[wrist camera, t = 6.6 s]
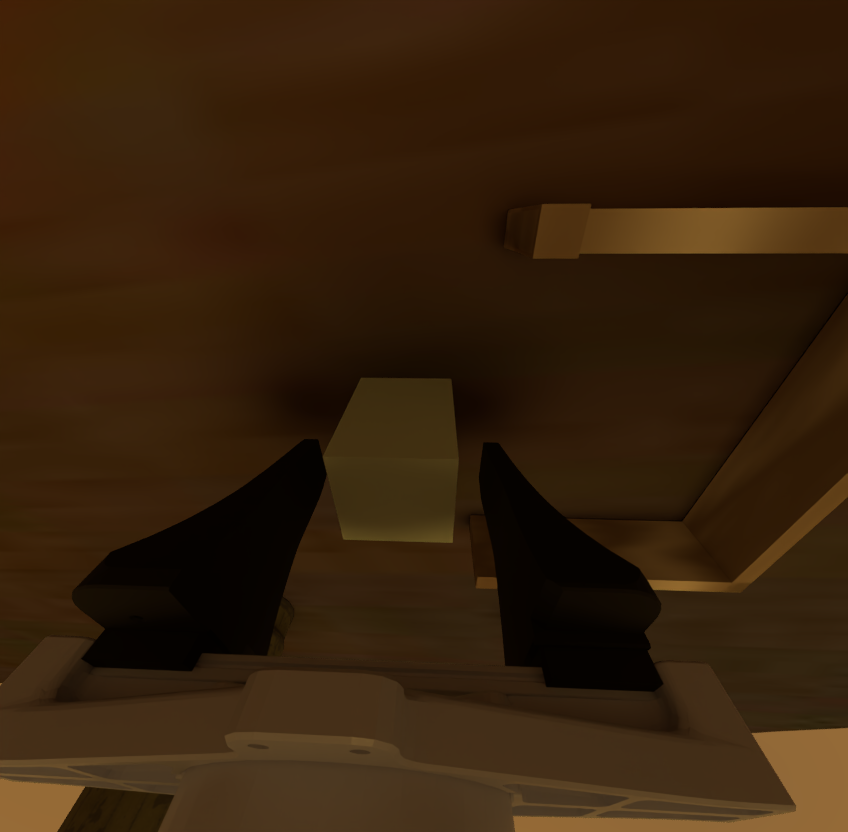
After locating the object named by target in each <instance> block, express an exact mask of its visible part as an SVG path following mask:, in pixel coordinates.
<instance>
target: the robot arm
mask: <svg viewBox="0 0 848 832" xmlns="http://www.w3.org/2000/svg"><path fill="white" fill-rule="evenodd" d="M326 475H327V473H326V469H325V465H324V461H323V457H322V453H321V449H320V445H319V441H318V439H304V440H303V441H301V442H300V443H299V444H298V445H296V446H295V447H294V448H293V449H291V450H290V451H289V452H288V453H286V454H285V455H284V456H283V457H281V458H280V459H279V460H278V461H276V462H275V463H274V464H273V465H271V466H270V467H269V468H268V469H266V470H265V471H264V472H262V473H261V474H259V475H258V476H257V477H255V478H254V479H253V480H251V481H250V482H249V483H247V484H246V485H244V486H243V487H241V488H240V489H238V490H237V491H235V492H234V493H232V494H231V495H229V496H227V497H226V498H224V499H222V500H221V501H219V502H217V503H216V504H214V505H212V506H210V507H208V508H207V509H205V510H203V511H201V512H199V513H197V514H196V515H194V516H192V517H190V518H188V519H186V520H184V521H182V522H180V523H178V524H176V525H174V526H172V527H169V528H167V529H165V530H163V531H161V532H158V533H156V534H154V535H152V536H149V537H147V538H144V539H142V540H140V541H137V542H135V543H132V544H130V545H127V546H125V547H122V548H120V549H117V550H115V551H112V552H111V553H109V555H108V556H107V557H106V558H105V559H104V560H103V561H102V562H101V563H100V564H99V565H98V566H97V567H96V568H95V569H94V570H93V571H92V572H91V573H90V574H89V575H88V576H87V577H86V578H85V579H84V580H83V581H82V582H81V583H80V584H79V585H78V586H77V587H76V588H75V589H74V590H73V592H72V600H73V602H74V604H75V605H76V606H77V607H78V608H79V609H80V610H81V611H83V612H84V613H85V614H87V615H88V616H89V617H91V618H92V619H93V620H95V621H96V622H97V623H99V624H100V625H101V626H102V627H104V628H105V630H104V631H103V632H102V634H101V635H100V636H99V637H98V639H97V640H95V639H92V638H89V637H83V636H60V635H50V636H48V637H46V638H45V639H44V640H43V641H42V642H41V643H40V644H39V645H38V646H37V647H36V648H35V649H34V651H33V652H32V653H31V654H30V655H29V656H28V657H27V658H26V659H25V660H24V661H23V662H22V663H21V664H20V665H19V667H18V668H17V669H16V670H15V671H14V672H13V673H12V674H11V675H10V676H9V677H8V678H7V679H6V680H5V681H4V682H3V684H2V685H1V686H0V778H1V779H5V780H9V781H16V782H33V783H47V784H60V785H74V786H85V787H96V788H107V789H118V790H128V791H139V792H149V793H160V794H170V795H174V798H173V800H172V802H171V804H170V806H169V809H168V811H167V813H166V815H165V817H164V819H163V822H162V824H161V826H160V828H159V830H158V832H515V830H514V821H513V816H531V817H584V818H633V819H667V820H692V821H713V822H735V821H741V820H747V819H753V818H759V817H765V816H771V815H777V814H783V813H789V812H794V811H796V805H795V803H794V802H793V800H792V799H791V797H790V795H789V794H788V792H787V790H786V789H785V787H784V786H783V784H782V782H781V781H780V779H779V777H778V776H777V774H776V773H775V771H774V769H773V768H772V766H771V764H770V763H769V761H768V760H767V758H766V757H765V755H764V753H763V751H762V750H761V748H760V747H759V745H758V743H757V742H756V740H755V739H754V737H753V735H752V734H751V732H750V730H749V729H748V727H747V725H746V724H745V722H744V721H743V719H742V717H741V716H740V714H739V712H738V711H737V709H736V708H735V706H734V704H733V703H732V701H731V699H730V698H729V696H728V695H727V693H726V691H725V690H724V688H723V686H722V685H721V683H720V682H719V680H718V678H717V677H716V675H715V673H714V672H713V670H712V669H711V667H710V665H709V664H707V663H705V662H698V661H674V660H666V661H659V662H655V663H653V661H652V659H651V657H650V655H649V653H648V651H647V650H649V649H650V648H651V647H650V643H649V641H648V639H647V637H646V635H645V633H644V632H645V630H646V629H647V628H648V627H649V626H650V625H651V624H652V623H653V622H654V620H655V619H656V618H657V617H658V615H659V613H660V611H661V603H660V601H659V599H658V597H657V596H656V594H655V592H654V590H653V589H652V587H651V585H650V584H649V582H648V580H647V579H646V577H645V576H644V575H643V573H642V572H641V570H640V569H639V568H638V567H637V566H635V565H633V564H632V563H630V562H628V561H627V560H625V559H623V558H622V557H620V556H619V555H617V554H615V553H614V552H612V551H610V550H609V549H607V548H606V547H604V546H603V545H601V544H600V543H598V542H597V541H596V540H594V539H593V538H591V537H590V536H588V535H587V534H586V533H584V532H583V531H582V530H580V529H579V528H578V527H576V526H575V525H574V524H573V523H571V522H570V521H569V520H568V519H566V518H565V517H564V516H563V515H562V514H560V513H559V512H558V511H557V510H556V509H555V508H554V507H553V506H551V505H550V504H549V503H548V502H547V501H546V500H545V499H544V498H543V497H542V496H541V495H540V494H539V493H538V492H537V491H536V490H535V488H534V487H533V486H532V485H531V484H530V483H529V482H528V481H527V480H526V478H525V477H524V476H523V475H522V474H521V472H520V471H519V470H518V469H517V467H516V466H515V465H514V464H513V462H512V461H511V460H510V458H509V457H508V456H507V454H506V453H505V451H504V450H503V449H502V447H501V446H500V444H499V443H485V442H484V443H483V450H482V458H481V465H480V473H479V483H480V493H481V500H482V505H483V509H484V514H485V518H486V523H487V527H488V531H489V536H490V540H491V545H492V550H493V555H494V563H495V570H496V578H497V587H498V596H499V604H500V614H501V624H502V634H503V645H504V657H505V666H495V665H472V664H448V663H424V662H400V661H376V660H353V659H329V658H305V657H281V656H267V654H268V650H269V646H270V642H271V637H272V633H273V629H274V625H275V621H276V618H277V614H278V610H279V607H280V603H281V599H282V596H283V592H284V589H285V586H286V582H287V579H288V576H289V572H290V569H291V566H292V563H293V560H294V557H295V554H296V551H297V548H298V546H299V543H300V541H301V538H302V536H303V534H304V532H305V529H306V527H307V525H308V523H309V521H310V518H311V516H312V514H313V512H314V509H315V507H316V505H317V502H318V500H319V498H320V495H321V492H322V489H323V486H324V482H325V479H326Z"/></svg>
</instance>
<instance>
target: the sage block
mask: <svg viewBox="0 0 848 832" xmlns="http://www.w3.org/2000/svg"><path fill="white" fill-rule="evenodd" d="M323 460H324V464H325V468H326V472H327V476H328V480H329V484H330V488H331V492H332V496H333V500H334V504H335V508H336V512H337V516H338V520H339V524H340V528H341V532H342V535H343V539H344V540H378V541H412V542H446V543H452V541H453V528H454V515H455V502H456V489H457V476H458V463H459V457H458V446H457V435H456V424H455V413H454V402H453V391H452V380H451V379H435V378H361V379H360V381H359V383H358V385H357V387H356V389H355V391H354V393H353V395H352V397H351V399H350V402H349V404H348V406H347V408H346V410H345V412H344V414H343V416H342V418H341V420H340V422H339V424H338V426H337V428H336V430H335V432H334V434H333V436H332V439H331V441H330V443H329V445H328V447H327V449H326V451H325V453H324V455H323Z"/></svg>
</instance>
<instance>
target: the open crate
mask: <svg viewBox="0 0 848 832" xmlns="http://www.w3.org/2000/svg"><path fill="white" fill-rule="evenodd" d="M590 208H591V204H539V205H533V206H528V207H522V208H516V209H510V210H508V215H507V223H506V231H505V239H504V248H506V249H509V250H512V251H514V252H517V253H519V254H522V255H525V256H527V257H530V258H533V259H578V257H579V254H661V253H848V207H808V208H651V209H590ZM847 497H848V294H847V296H846V297H845V298H844V300H843V301H842V302H841V304H840V305H839V307H838V308H837V309H836V311H835V312H834V313H833V315H832V316H831V318H830V319H829V320H828V322H827V323H826V324H825V326H824V327H823V329H822V330H821V331H820V333H819V334H818V335H817V337H816V338H815V340H814V341H813V342H812V344H811V345H810V346H809V348H808V349H807V351H806V352H805V353H804V355H803V356H802V357H801V359H800V360H799V362H798V363H797V364H796V366H795V367H794V368H793V370H792V371H791V373H790V374H789V375H788V377H787V378H786V379H785V381H784V382H783V384H782V385H781V386H780V388H779V389H778V390H777V392H776V393H775V395H774V396H773V397H772V399H771V400H770V401H769V403H768V404H767V406H766V407H765V408H764V410H763V411H762V412H761V414H760V415H759V417H758V418H757V419H756V421H755V422H754V423H753V425H752V426H751V428H750V429H749V430H748V432H747V433H746V434H745V436H744V437H743V439H742V440H741V441H740V443H739V444H738V445H737V447H736V448H735V450H734V451H733V452H732V454H731V455H730V456H729V458H728V459H727V461H726V462H725V463H724V465H723V466H722V467H721V469H720V470H719V472H718V473H717V474H716V476H715V477H714V478H713V480H712V481H711V483H710V484H709V485H708V487H707V488H706V489H705V491H704V492H703V494H702V495H701V496H700V498H699V499H698V500H697V502H696V503H695V505H694V506H693V507H692V509H691V510H690V511H689V513H688V514H687V516H686V517H685V518H684V520H683V521H682V522H680V521H642V520H604V519H568V520H569V521H570V522H571V523H573V524H574V525H575V526H576V527H578V528H579V529H580V530H582V531H583V532H584V533H586V534H587V535H588V536H590V537H591V538H593V539H594V540H596V541H597V542H598V543H600V544H601V545H603V546H604V547H606V548H607V549H609V550H610V551H612V552H614V553H615V554H617V555H619V556H620V557H622V558H623V559H625V560H627V561H628V562H630V563H632V564H633V565H635V566H637V567H638V568H639V569H640V570H641V572H642V573H643V575H644V576H645V577H646V579H647V580H648V582H649V584H650V585H651V587H652V589H653V590H678V591H708V592H738V593H741V592H742V591H743V590H744V589H745V588H746V587H747V586H748V585H750V584H751V583H752V582H753V581H754V580H755V579H756V578H757V577H759V576H760V575H761V574H762V573H763V572H764V571H765V570H766V569H767V568H769V567H770V566H771V565H772V564H773V563H774V562H775V561H776V560H778V559H779V558H780V557H781V556H782V555H783V554H784V553H785V552H787V551H788V550H789V549H790V548H791V547H792V546H793V545H794V544H795V543H797V542H798V541H799V540H800V539H801V538H802V537H803V536H804V535H806V534H807V533H808V532H809V531H810V530H811V529H812V528H813V527H814V526H816V525H817V524H818V523H819V522H820V521H821V520H822V519H823V518H825V517H826V516H827V515H828V514H829V513H830V512H831V511H832V510H834V509H835V508H836V507H837V506H838V505H839V504H840V503H841V502H842V501H844V500H845V499H846V498H847ZM469 530H470V539H471V548H472V558H473V567H474V577H475V586H476V588H486V589H497V578H496V570H495V563H494V555H493V550H492V545H491V540H490V536H489V531H488V527H487V523H486V518H485V515H470V523H469Z"/></svg>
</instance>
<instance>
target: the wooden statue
mask: <svg viewBox="0 0 848 832" xmlns="http://www.w3.org/2000/svg"><path fill="white" fill-rule="evenodd" d="M293 616H294V609H293V607H292V606H291V604H290V603H289V602H288V601H287V600H286V599H284V598H283V597H282V599H281V603H280V607H279V610H278V614H277V618H276V621H275V625H274V629H273V633H272V637H271V642H270V646H269V650H268V654H267V656H281V655H282V652H283V649H284V639H285V636H286V633H287V630H288V628H289V625H290V624H291V622H292V619H293ZM173 798H174V795H170V794H160V793H149V792H139V791H128V790H118V789H107V788H96V787H85V788H84V790H83V791H82V793H81V795H80V796H79V798H78V799H77V801H76V803H75V804H74V806H73V807H72V809H71V811H70V812H69V814H68V815H67V817H66V819H65V820H64V822H63V824H62V825H61V827H60V829H59V830H58V832H158V830H159V828H160V826H161V824H162V822H163V819H164V817H165V815H166V813H167V811H168V809H169V806H170V804H171V802H172V800H173Z"/></svg>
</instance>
